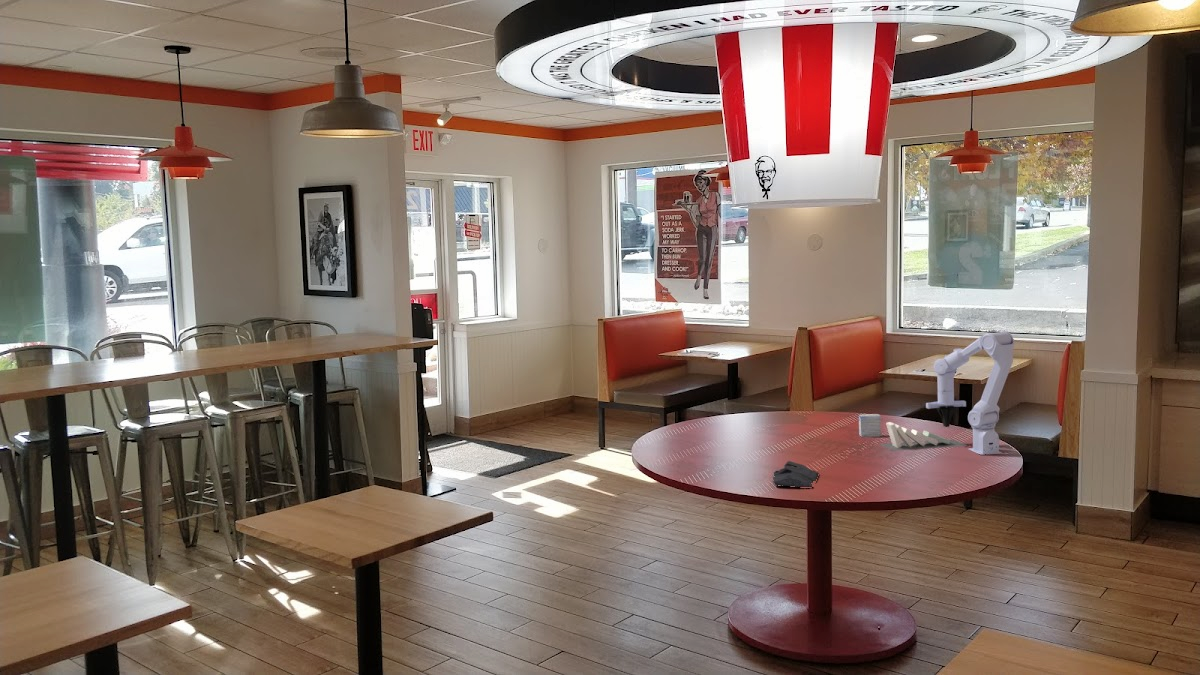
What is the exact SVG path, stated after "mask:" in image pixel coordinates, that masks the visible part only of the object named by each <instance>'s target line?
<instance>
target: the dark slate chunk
mask: <svg viewBox="0 0 1200 675" xmlns="http://www.w3.org/2000/svg"><path fill="white" fill-rule="evenodd" d="M783 467H784V468H783ZM783 467H782V468H781V469H779V470H774V471H775V472H774V471H773V473H774V476H775V477H772V479H773V481H772V482H773V485H775V486H776V485H783V486H795V487H812V484H811V483H813V481H816V479H817V477H818V474H819V475H820V473H819V472H818V471H816V470H812V469H811V468H808V467H807V466H806V465H804V464H800V463H797V462H794V461H790V460H789V461H787V462H786V463H785V464H784V466H783ZM818 478H819V477H818Z"/></svg>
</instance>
